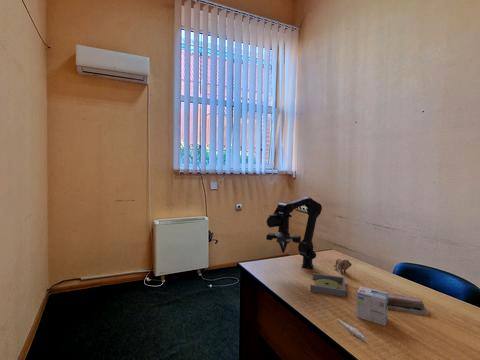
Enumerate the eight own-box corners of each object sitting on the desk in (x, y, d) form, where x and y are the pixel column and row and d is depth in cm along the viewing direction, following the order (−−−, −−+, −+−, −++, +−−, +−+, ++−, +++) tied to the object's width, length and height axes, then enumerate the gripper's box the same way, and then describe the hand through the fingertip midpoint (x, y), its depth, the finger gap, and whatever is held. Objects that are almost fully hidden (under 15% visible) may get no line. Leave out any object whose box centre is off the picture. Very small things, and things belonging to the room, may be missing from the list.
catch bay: (312, 278, 146) (312, 273, 146) (344, 283, 141) (344, 277, 141) (310, 291, 131) (310, 285, 131) (345, 296, 126) (345, 290, 126)
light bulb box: (387, 318, 109) (388, 292, 108) (385, 326, 103) (386, 299, 102) (359, 310, 115) (359, 285, 114) (355, 317, 109) (356, 291, 108)
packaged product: (380, 298, 116) (377, 288, 126) (380, 309, 117) (377, 298, 126) (429, 305, 110) (422, 294, 119) (429, 317, 110) (422, 305, 120)
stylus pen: (368, 341, 94) (367, 335, 94) (362, 342, 93) (361, 337, 93) (338, 320, 108) (338, 315, 108) (333, 321, 108) (333, 316, 108)
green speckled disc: (312, 288, 135) (312, 284, 135) (319, 280, 144) (319, 276, 144) (335, 294, 129) (335, 290, 128) (340, 285, 138) (341, 281, 138)
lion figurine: (352, 276, 150) (353, 260, 150) (344, 277, 149) (345, 261, 148) (337, 266, 164) (337, 252, 164) (329, 267, 163) (329, 252, 163)
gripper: (264, 227, 147) (263, 255, 148) (298, 230, 141) (298, 259, 142) (268, 223, 158) (268, 249, 158) (301, 225, 151) (300, 253, 152)
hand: (283, 252), depth 152 cm, fingers closed
